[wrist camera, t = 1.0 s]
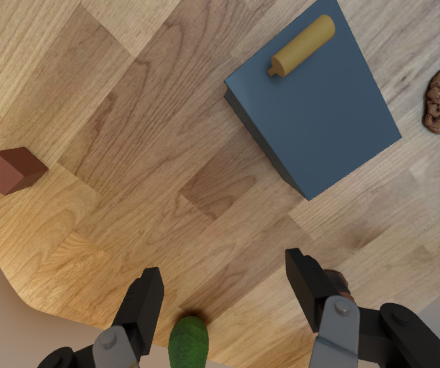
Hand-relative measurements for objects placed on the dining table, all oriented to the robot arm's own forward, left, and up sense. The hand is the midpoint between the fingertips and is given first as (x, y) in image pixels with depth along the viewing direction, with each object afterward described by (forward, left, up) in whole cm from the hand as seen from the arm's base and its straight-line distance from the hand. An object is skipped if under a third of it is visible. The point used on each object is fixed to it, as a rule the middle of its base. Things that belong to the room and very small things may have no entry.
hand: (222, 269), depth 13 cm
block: (+7, -29, -23) cm, 38 cm away
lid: (-13, +8, -14) cm, 20 cm away
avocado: (+33, +4, -23) cm, 40 cm away
